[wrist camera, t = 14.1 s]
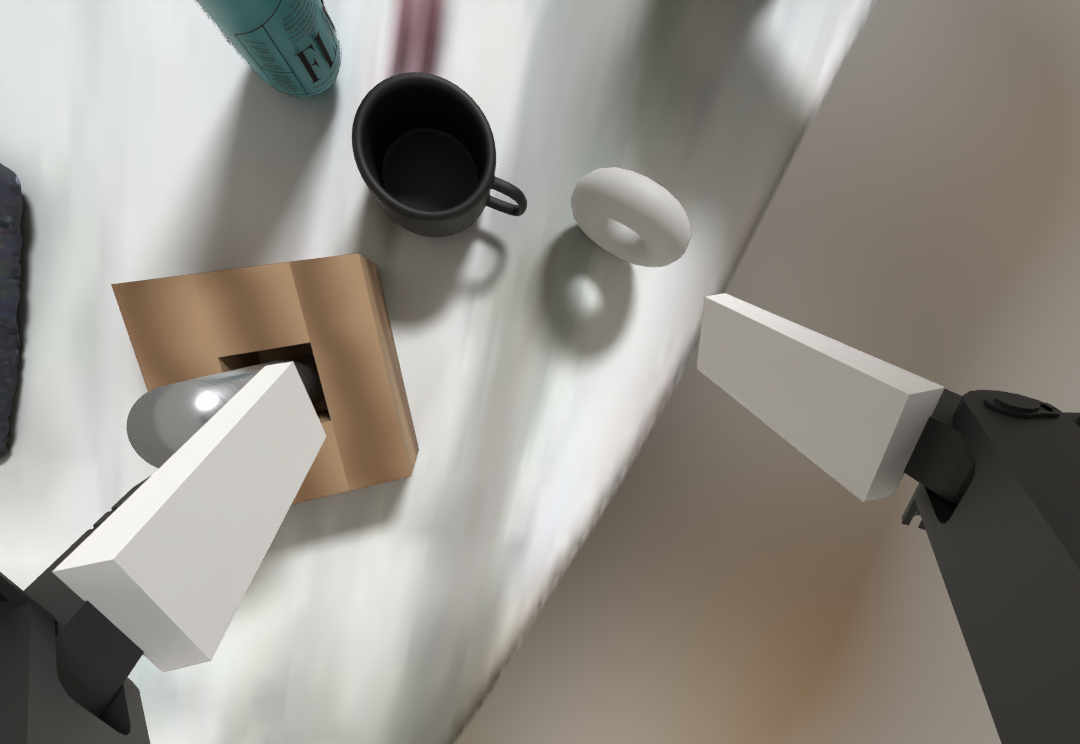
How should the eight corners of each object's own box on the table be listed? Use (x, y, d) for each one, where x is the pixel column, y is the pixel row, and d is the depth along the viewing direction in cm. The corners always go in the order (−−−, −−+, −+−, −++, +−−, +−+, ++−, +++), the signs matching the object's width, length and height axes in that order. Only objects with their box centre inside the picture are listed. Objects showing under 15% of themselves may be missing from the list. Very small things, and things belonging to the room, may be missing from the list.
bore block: (376, 265, 31) (358, 253, 25) (418, 449, 34) (410, 476, 28) (181, 292, 28) (111, 284, 23) (243, 488, 31) (194, 527, 25)
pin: (326, 350, 30) (219, 375, 17) (339, 398, 31) (246, 461, 17) (271, 359, 29) (112, 394, 16) (286, 409, 30) (144, 482, 16)
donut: (549, 220, 34) (587, 178, 24) (569, 186, 34) (615, 131, 24) (637, 281, 36) (703, 266, 26) (655, 249, 36) (729, 223, 26)
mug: (360, 216, 30) (331, 185, 23) (394, 105, 30) (375, 41, 23) (501, 271, 33) (513, 258, 26) (535, 171, 33) (555, 131, 26)
